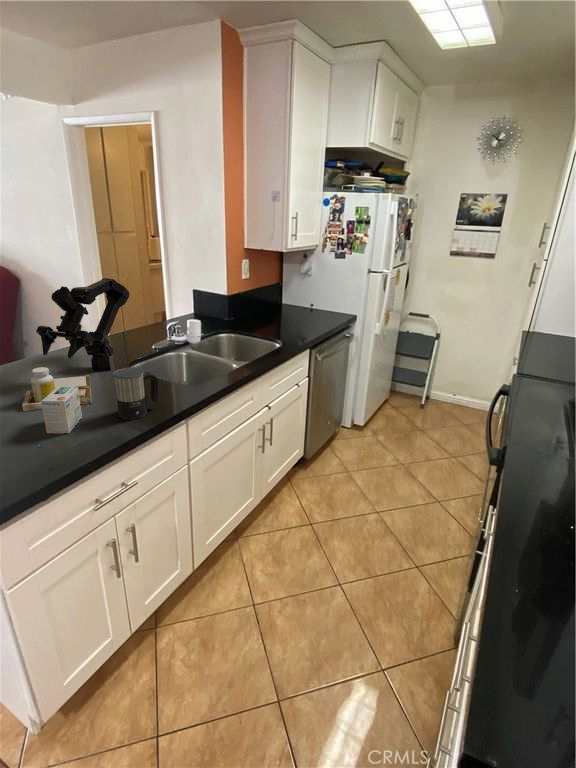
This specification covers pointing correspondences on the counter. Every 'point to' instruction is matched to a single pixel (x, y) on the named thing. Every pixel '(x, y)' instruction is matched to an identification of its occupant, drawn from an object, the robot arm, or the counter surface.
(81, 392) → the offcut stack
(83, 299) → the robot arm
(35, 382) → the pill bottle
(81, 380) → the pale grey mat
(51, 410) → the light bulb box
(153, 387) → the milk frother
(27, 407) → the birch rack
